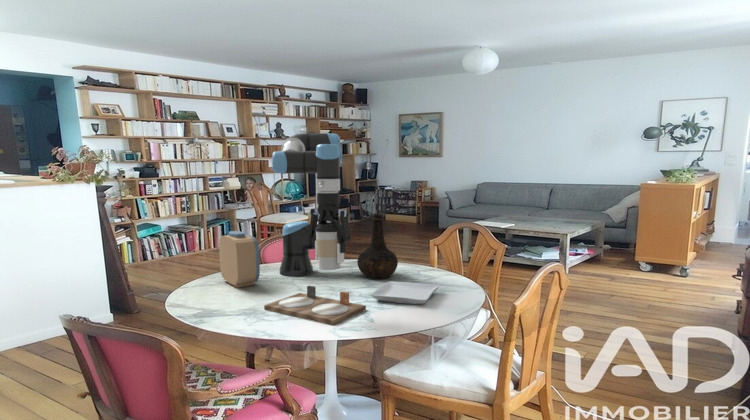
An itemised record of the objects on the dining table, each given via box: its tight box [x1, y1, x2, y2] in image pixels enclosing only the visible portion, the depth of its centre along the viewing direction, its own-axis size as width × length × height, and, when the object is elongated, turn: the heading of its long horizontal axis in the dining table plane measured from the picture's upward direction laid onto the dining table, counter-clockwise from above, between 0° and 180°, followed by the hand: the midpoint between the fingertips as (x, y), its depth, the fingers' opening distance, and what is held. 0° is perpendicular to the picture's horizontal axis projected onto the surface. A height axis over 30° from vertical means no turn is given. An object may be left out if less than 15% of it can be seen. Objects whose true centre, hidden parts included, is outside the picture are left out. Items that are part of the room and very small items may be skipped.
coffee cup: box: [315, 222, 341, 271], centre depth 154 cm, size 9×9×15 cm
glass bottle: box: [357, 213, 399, 280], centre depth 207 cm, size 18×18×28 cm
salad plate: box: [370, 280, 440, 305], centre depth 176 cm, size 21×21×3 cm
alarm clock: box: [218, 230, 261, 288], centre depth 197 cm, size 21×10×22 cm, turn 37°
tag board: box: [263, 285, 367, 326], centre depth 161 cm, size 30×18×6 cm, turn 57°
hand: (329, 260), depth 155 cm, fingers closed on coffee cup, 8 cm apart
